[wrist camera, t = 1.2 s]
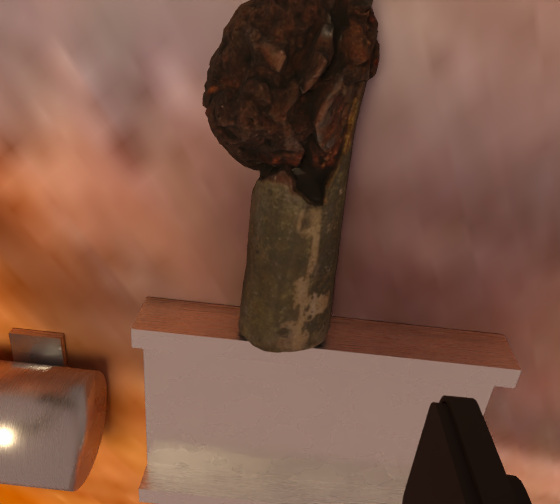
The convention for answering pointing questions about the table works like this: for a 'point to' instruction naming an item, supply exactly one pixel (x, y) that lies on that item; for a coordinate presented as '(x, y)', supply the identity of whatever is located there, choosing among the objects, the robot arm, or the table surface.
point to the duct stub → (48, 414)
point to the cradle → (297, 405)
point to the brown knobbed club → (292, 151)
